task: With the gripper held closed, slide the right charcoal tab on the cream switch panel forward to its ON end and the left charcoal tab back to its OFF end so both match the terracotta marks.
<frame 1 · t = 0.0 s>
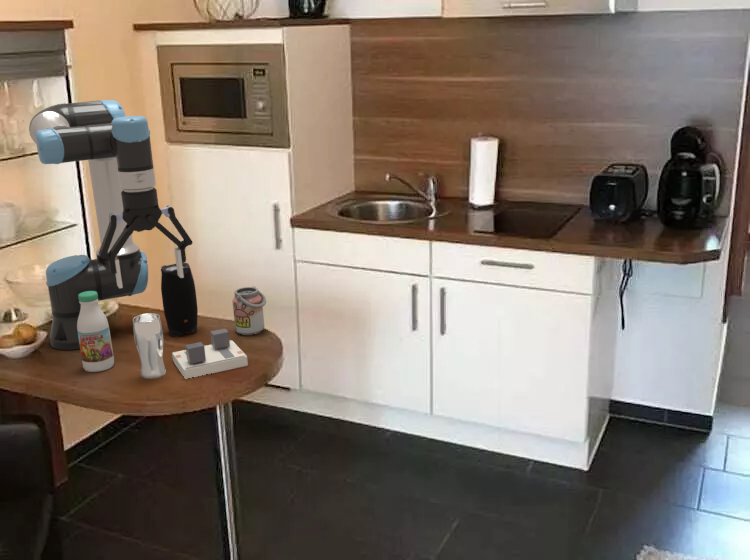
hand: (150, 281, 187), 28 cm above the table, tool pointing down, fingers open, 13 cm apart
tab 2: (220, 338, 215), point 5 cm above the table, slide at -3.0 cm
milk bottle: (99, 367, 214), on the table
portable speaker: (183, 332, 235), on the table
beer glass: (153, 374, 208), on the table
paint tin: (251, 331, 234), on the table
tab 1: (195, 352, 207), point 5 cm above the table, slide at 3.0 cm
switch panel: (210, 363, 213), on the table
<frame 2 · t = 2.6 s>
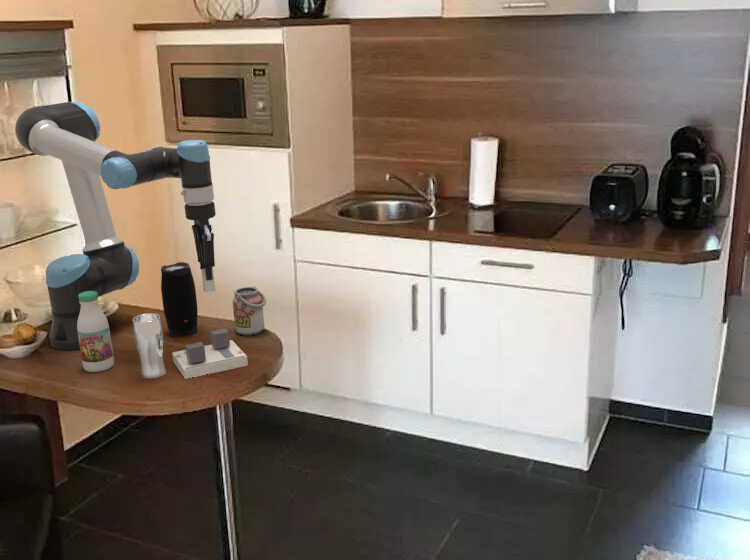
hand: (209, 290, 217), 16 cm above the table, tool pointing down, fingers closed
nothing on the table moved.
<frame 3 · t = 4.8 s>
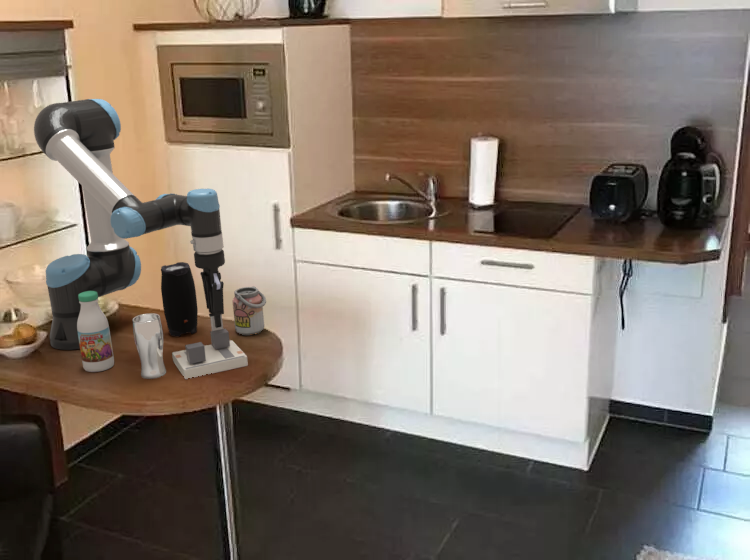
hand: (218, 337, 217), 5 cm above the table, tool pointing down, fingers closed
tab 2: (220, 338, 215), point 5 cm above the table, slide at -3.0 cm, touching gripper
everything else where it was.
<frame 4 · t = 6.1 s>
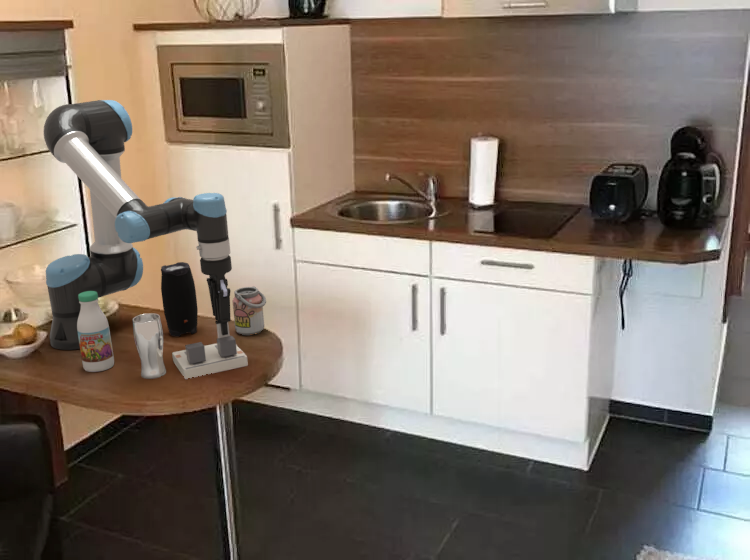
hand: (224, 345, 212), 4 cm above the table, tool pointing down, fingers closed
tab 2: (226, 346, 210), point 5 cm above the table, slide at 3.0 cm, touching gripper
everything else where it was.
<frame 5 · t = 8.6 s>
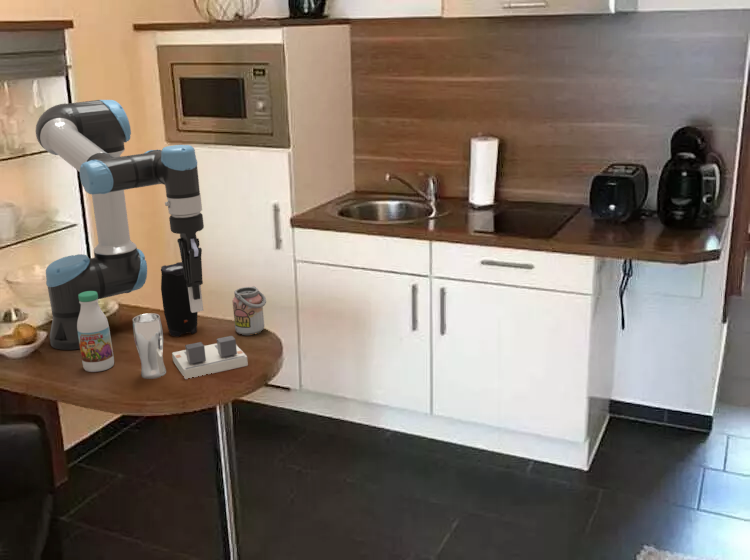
hand: (197, 310, 197), 18 cm above the table, tool pointing down, fingers closed
tab 2: (226, 346, 210), point 5 cm above the table, slide at 3.1 cm
everything else where it was.
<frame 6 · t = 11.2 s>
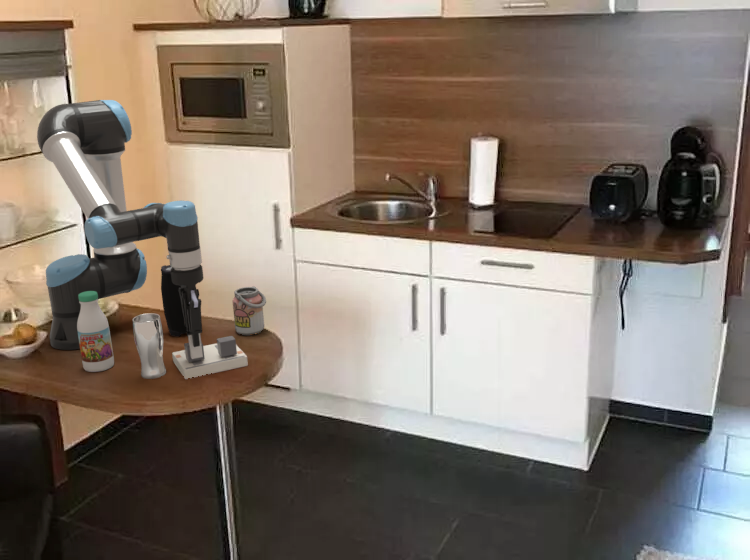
hand: (196, 356, 206), 4 cm above the table, tool pointing down, fingers closed
tab 1: (194, 351, 208), point 5 cm above the table, slide at 1.8 cm, touching gripper
everything else where it was.
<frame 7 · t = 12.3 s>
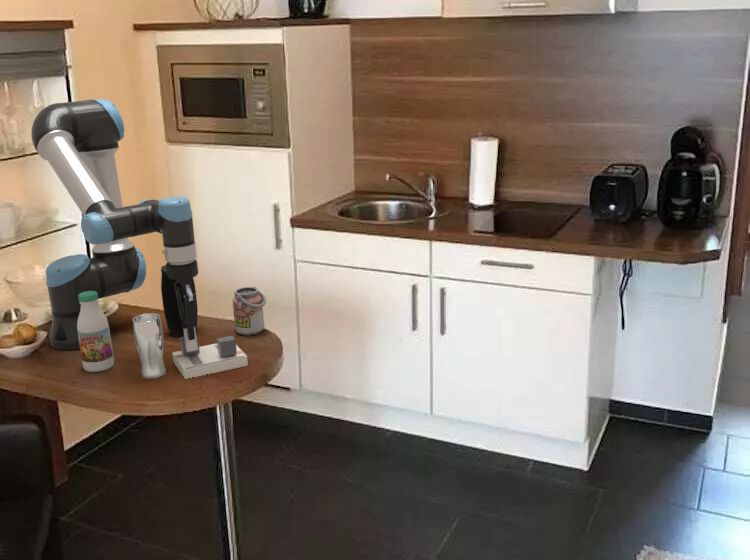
hand: (191, 350, 210), 4 cm above the table, tool pointing down, fingers closed
tab 1: (189, 345, 212), point 5 cm above the table, slide at -3.1 cm, touching gripper
everything else where it was.
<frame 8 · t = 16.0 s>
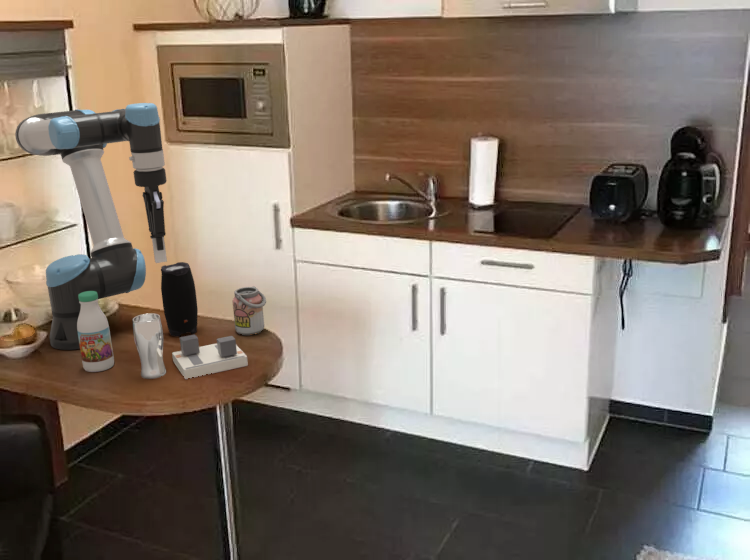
hand: (160, 261, 209), 26 cm above the table, tool pointing down, fingers closed
tab 1: (189, 345, 212), point 5 cm above the table, slide at -3.1 cm
everything else where it was.
at the end: tab 2 slide at 3.1 cm; tab 1 slide at -3.1 cm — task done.
